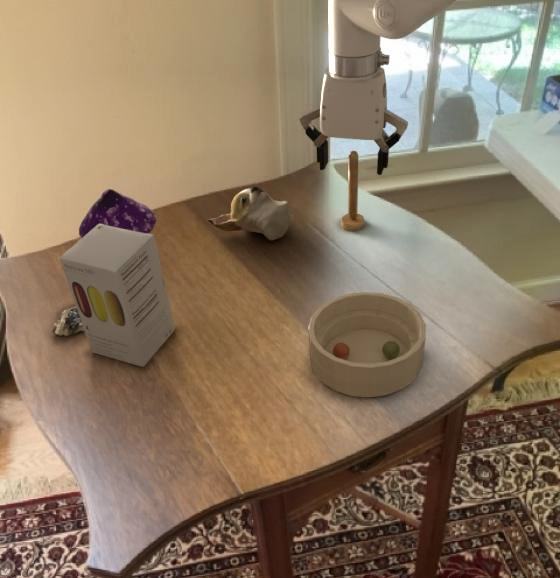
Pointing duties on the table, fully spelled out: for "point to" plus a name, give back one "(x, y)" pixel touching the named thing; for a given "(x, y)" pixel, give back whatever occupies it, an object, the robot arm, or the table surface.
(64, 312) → the white grey lumpy piece
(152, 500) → the table surface
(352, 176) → the wooden peg stand
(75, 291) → the supplement box
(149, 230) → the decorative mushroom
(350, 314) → the bowl
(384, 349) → the bead
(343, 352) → the bead
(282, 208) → the ceramic sculpture
